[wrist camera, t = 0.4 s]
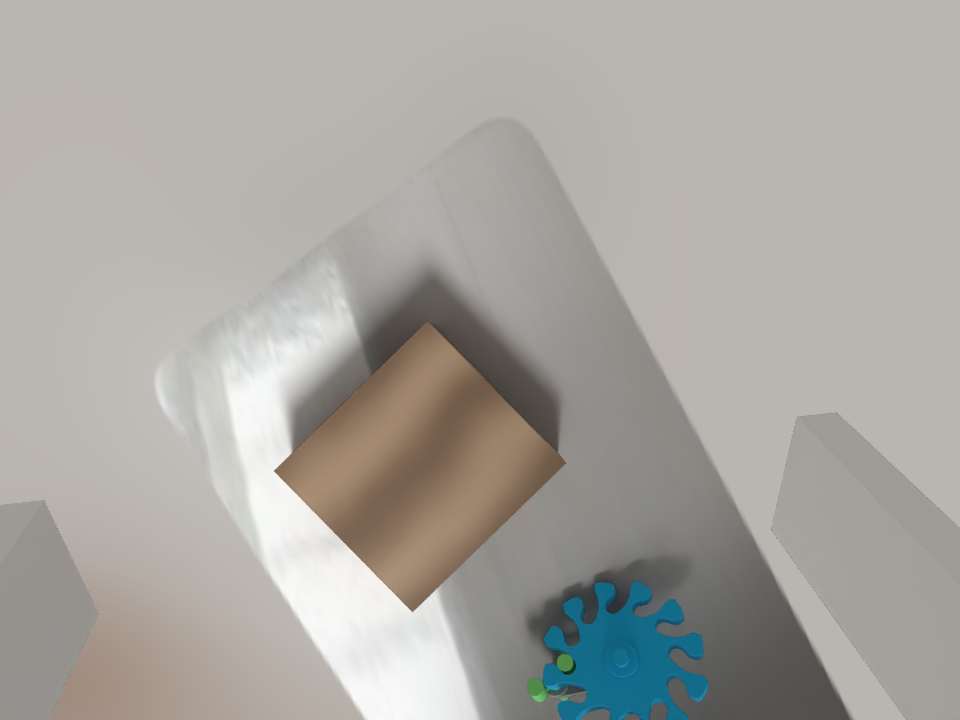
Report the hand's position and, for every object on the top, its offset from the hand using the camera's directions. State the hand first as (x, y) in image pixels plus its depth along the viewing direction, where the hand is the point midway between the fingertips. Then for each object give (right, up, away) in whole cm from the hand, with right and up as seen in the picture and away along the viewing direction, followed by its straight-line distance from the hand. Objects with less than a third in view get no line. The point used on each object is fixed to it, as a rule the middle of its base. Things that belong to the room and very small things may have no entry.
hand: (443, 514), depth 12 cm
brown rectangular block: (-3, -4, +32) cm, 32 cm away
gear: (+9, -16, +32) cm, 37 cm away
